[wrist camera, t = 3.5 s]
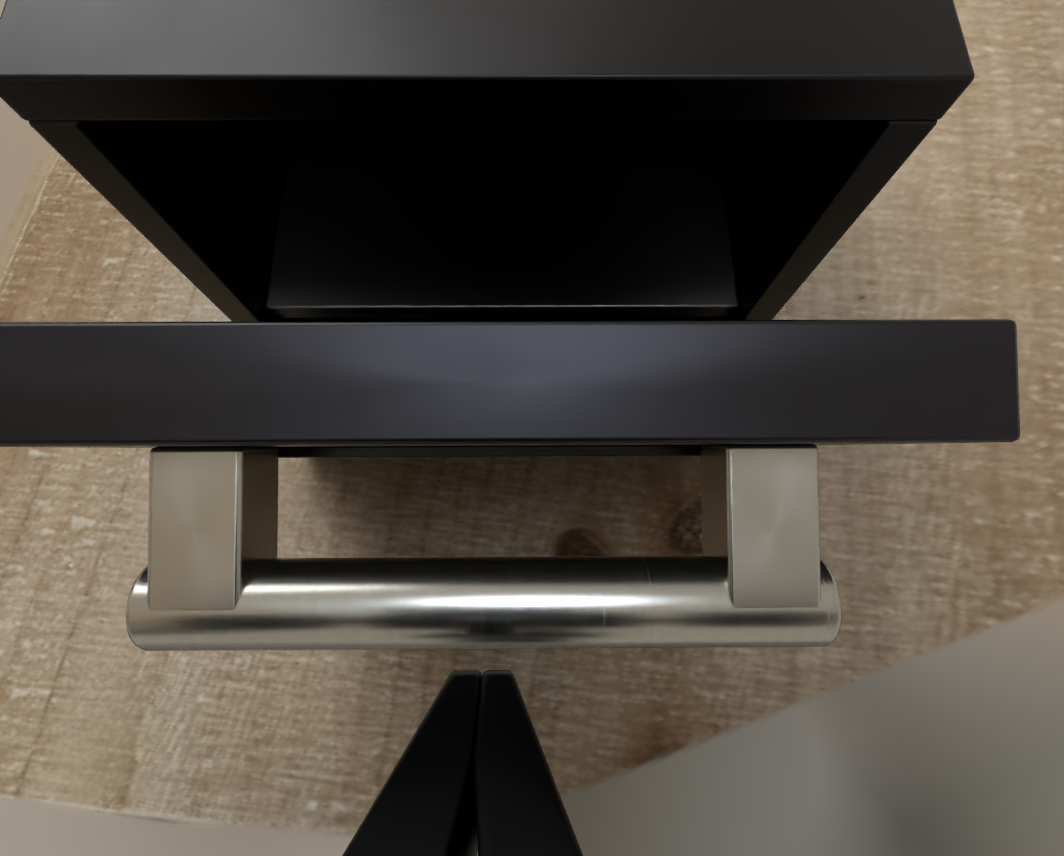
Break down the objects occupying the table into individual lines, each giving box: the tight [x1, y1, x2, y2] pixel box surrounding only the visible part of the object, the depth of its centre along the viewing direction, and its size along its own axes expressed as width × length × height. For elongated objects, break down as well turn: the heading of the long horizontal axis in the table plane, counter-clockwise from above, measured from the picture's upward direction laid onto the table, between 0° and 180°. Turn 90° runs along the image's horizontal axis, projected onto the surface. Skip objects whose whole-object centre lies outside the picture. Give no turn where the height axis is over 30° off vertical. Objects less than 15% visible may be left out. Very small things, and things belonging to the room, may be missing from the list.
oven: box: [0, 0, 974, 322], centre depth 17 cm, size 15×14×13 cm
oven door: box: [0, 319, 1020, 651], centre depth 14 cm, size 5×14×13 cm, turn 90°
